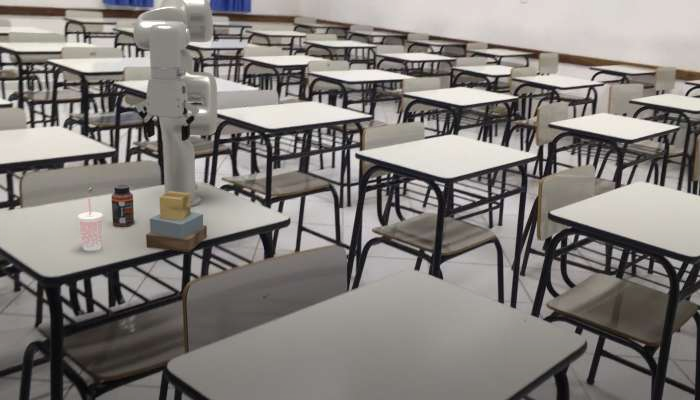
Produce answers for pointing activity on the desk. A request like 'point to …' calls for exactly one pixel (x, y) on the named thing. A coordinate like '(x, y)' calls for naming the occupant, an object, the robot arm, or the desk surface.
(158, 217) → the tower top
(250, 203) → the desk surface
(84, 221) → the beverage cup
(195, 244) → the tower base
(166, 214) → the ochre cube
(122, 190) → the supplement bottle
